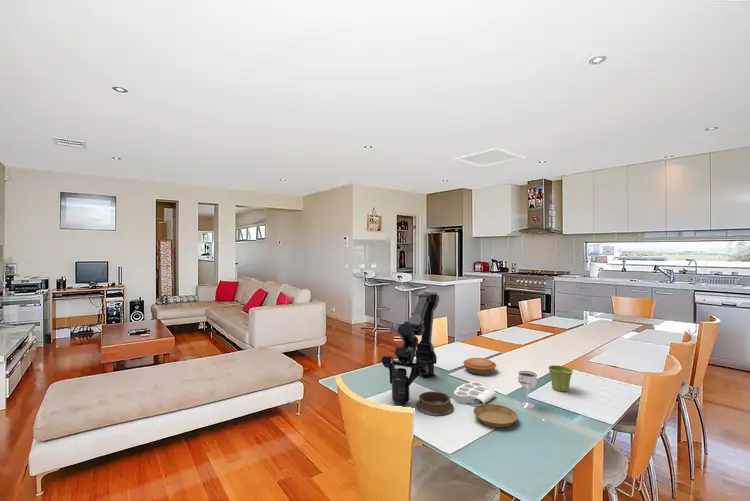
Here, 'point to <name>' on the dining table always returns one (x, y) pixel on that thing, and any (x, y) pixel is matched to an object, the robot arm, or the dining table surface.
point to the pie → (479, 365)
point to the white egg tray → (473, 393)
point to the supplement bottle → (400, 386)
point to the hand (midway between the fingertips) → (399, 384)
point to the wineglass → (527, 384)
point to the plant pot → (560, 377)
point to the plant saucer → (495, 415)
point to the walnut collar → (434, 404)
